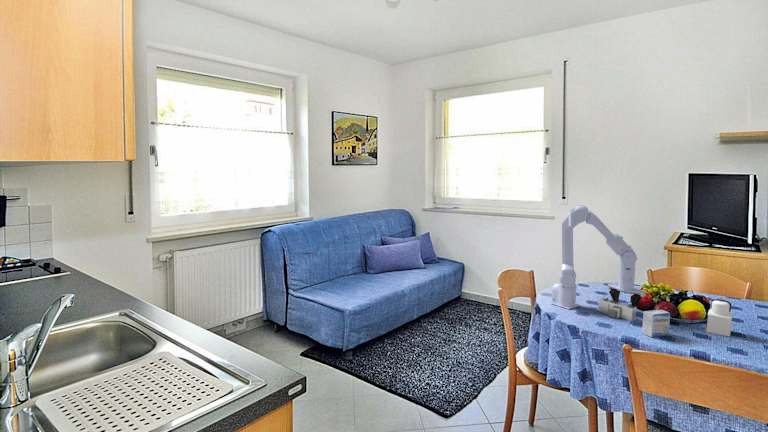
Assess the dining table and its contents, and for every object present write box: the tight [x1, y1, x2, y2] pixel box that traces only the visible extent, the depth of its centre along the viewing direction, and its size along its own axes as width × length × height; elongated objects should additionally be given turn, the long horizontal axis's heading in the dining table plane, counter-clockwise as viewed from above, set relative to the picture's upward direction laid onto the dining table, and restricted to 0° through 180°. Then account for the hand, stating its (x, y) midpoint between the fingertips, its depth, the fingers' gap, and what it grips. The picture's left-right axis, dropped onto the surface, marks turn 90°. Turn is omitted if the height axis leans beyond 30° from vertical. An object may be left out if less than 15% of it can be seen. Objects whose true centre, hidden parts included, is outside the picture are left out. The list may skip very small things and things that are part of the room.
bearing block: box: [597, 297, 637, 322], centre depth 187 cm, size 14×3×6 cm, turn 34°
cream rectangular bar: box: [607, 302, 630, 319], centre depth 189 cm, size 14×4×4 cm, turn 125°
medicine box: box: [641, 309, 671, 339], centre depth 167 cm, size 8×4×9 cm, turn 105°
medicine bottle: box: [705, 298, 734, 337], centre depth 169 cm, size 7×7×12 cm
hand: (624, 309), depth 191 cm, fingers open, 6 cm apart
